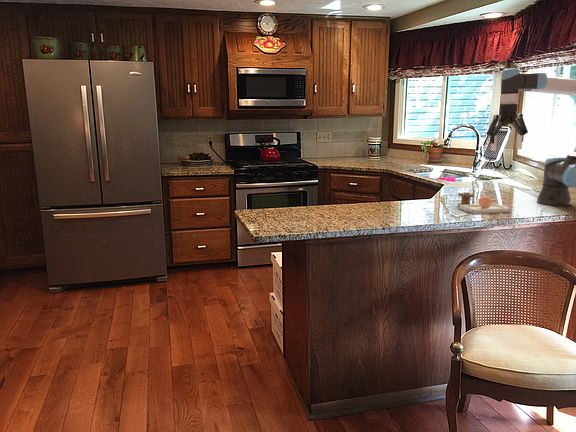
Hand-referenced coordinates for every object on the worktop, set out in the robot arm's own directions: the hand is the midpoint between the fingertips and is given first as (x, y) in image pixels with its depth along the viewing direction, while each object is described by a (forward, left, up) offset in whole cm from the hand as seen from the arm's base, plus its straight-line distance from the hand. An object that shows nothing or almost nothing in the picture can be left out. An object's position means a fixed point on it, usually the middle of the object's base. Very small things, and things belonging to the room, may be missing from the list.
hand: (506, 149), depth 231 cm
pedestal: (+15, -7, -28) cm, 32 cm away
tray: (+12, +5, -28) cm, 30 cm away
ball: (+12, +5, -27) cm, 29 cm away
